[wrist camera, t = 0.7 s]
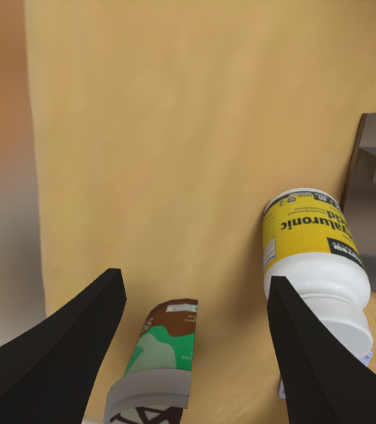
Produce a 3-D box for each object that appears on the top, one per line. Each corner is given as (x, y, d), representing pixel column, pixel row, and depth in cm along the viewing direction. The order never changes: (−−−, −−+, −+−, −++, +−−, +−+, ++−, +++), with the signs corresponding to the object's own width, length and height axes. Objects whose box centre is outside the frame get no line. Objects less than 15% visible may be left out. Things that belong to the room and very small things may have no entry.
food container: (138, 277, 25) (93, 384, 16) (200, 289, 25) (188, 404, 16) (133, 354, 31) (97, 465, 22) (183, 365, 31) (168, 480, 22)
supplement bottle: (354, 192, 18) (424, 331, 10) (321, 246, 21) (356, 379, 14) (273, 178, 18) (283, 299, 11) (254, 233, 22) (252, 353, 14)
